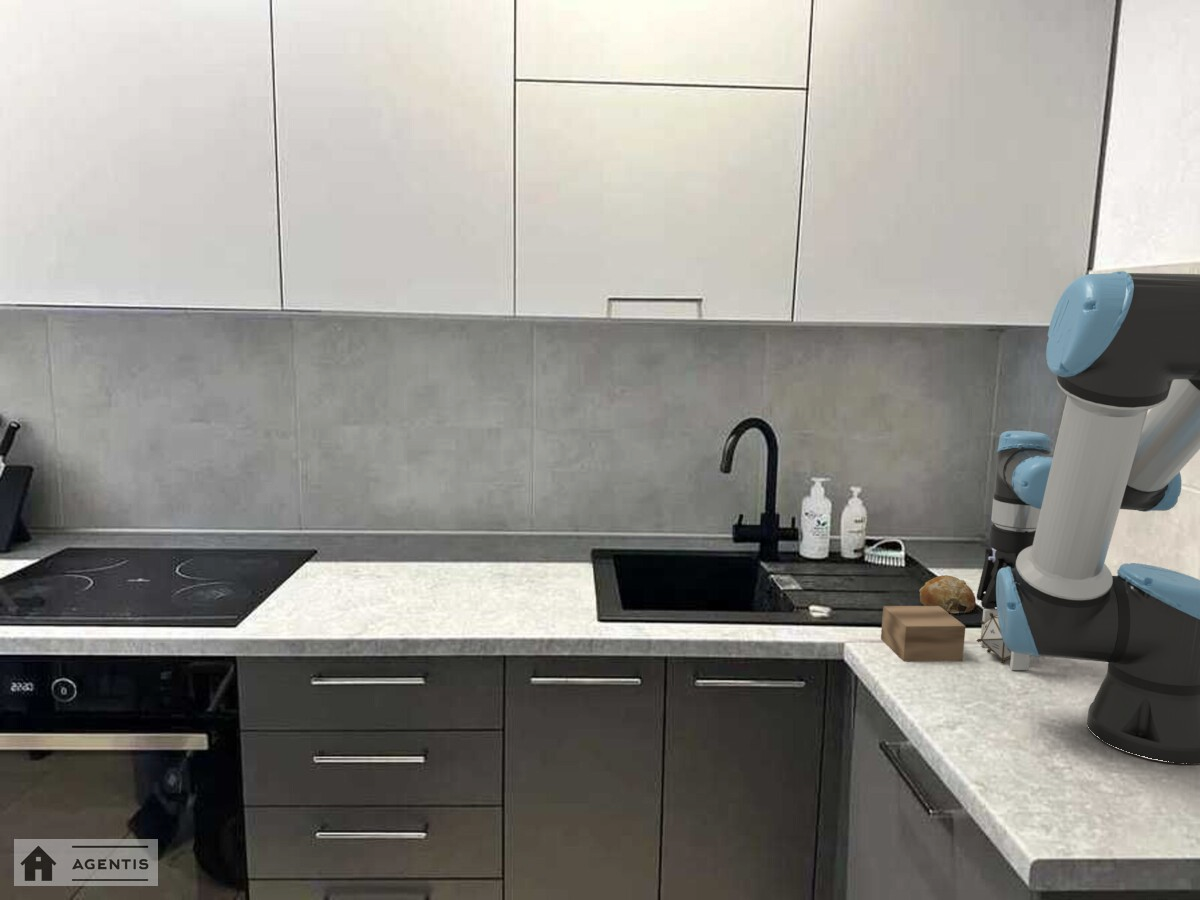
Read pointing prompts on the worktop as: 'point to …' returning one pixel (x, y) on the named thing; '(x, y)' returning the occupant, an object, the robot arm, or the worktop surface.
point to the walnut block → (923, 633)
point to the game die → (994, 638)
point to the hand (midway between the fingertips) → (1003, 656)
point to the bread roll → (948, 594)
